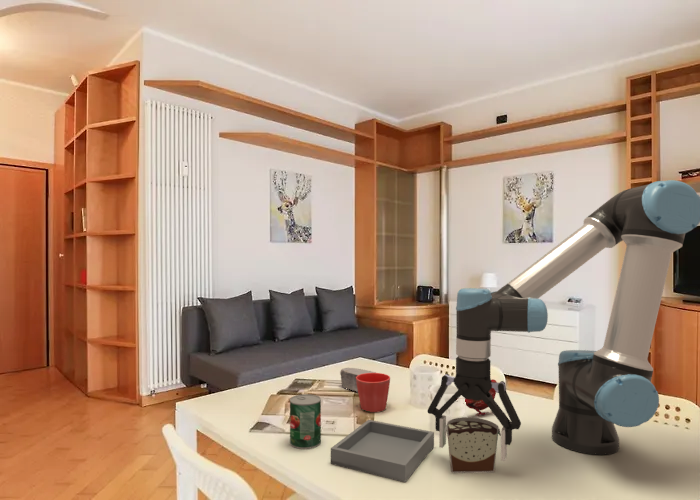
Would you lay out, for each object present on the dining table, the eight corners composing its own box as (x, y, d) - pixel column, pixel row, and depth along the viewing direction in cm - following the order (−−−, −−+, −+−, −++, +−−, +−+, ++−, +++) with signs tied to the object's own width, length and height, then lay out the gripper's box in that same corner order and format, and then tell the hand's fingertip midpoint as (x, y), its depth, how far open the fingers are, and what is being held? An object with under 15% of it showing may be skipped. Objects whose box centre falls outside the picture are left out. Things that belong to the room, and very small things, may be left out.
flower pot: (349, 411, 136) (349, 379, 137) (365, 400, 146) (365, 370, 146) (381, 416, 132) (381, 383, 132) (395, 405, 141) (395, 374, 141)
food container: (491, 459, 104) (491, 416, 104) (501, 472, 98) (500, 426, 98) (438, 460, 104) (438, 416, 104) (445, 473, 98) (444, 426, 98)
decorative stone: (374, 397, 151) (383, 388, 160) (373, 376, 151) (383, 368, 160) (334, 392, 156) (345, 384, 166) (333, 373, 156) (345, 365, 166)
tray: (434, 446, 111) (434, 431, 111) (405, 482, 94) (405, 465, 94) (368, 432, 120) (368, 419, 120) (330, 463, 102) (330, 448, 102)
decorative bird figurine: (502, 413, 134) (502, 379, 135) (455, 422, 127) (455, 387, 127) (495, 410, 137) (495, 377, 137) (449, 419, 129) (449, 384, 130)
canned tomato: (327, 443, 113) (327, 399, 113) (301, 452, 108) (301, 406, 108) (308, 433, 119) (308, 392, 119) (283, 441, 114) (283, 398, 114)
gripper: (534, 360, 99) (533, 457, 98) (425, 348, 110) (424, 434, 110) (530, 367, 92) (529, 471, 92) (414, 354, 104) (413, 446, 103)
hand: (472, 451), depth 101 cm, fingers open, 13 cm apart
